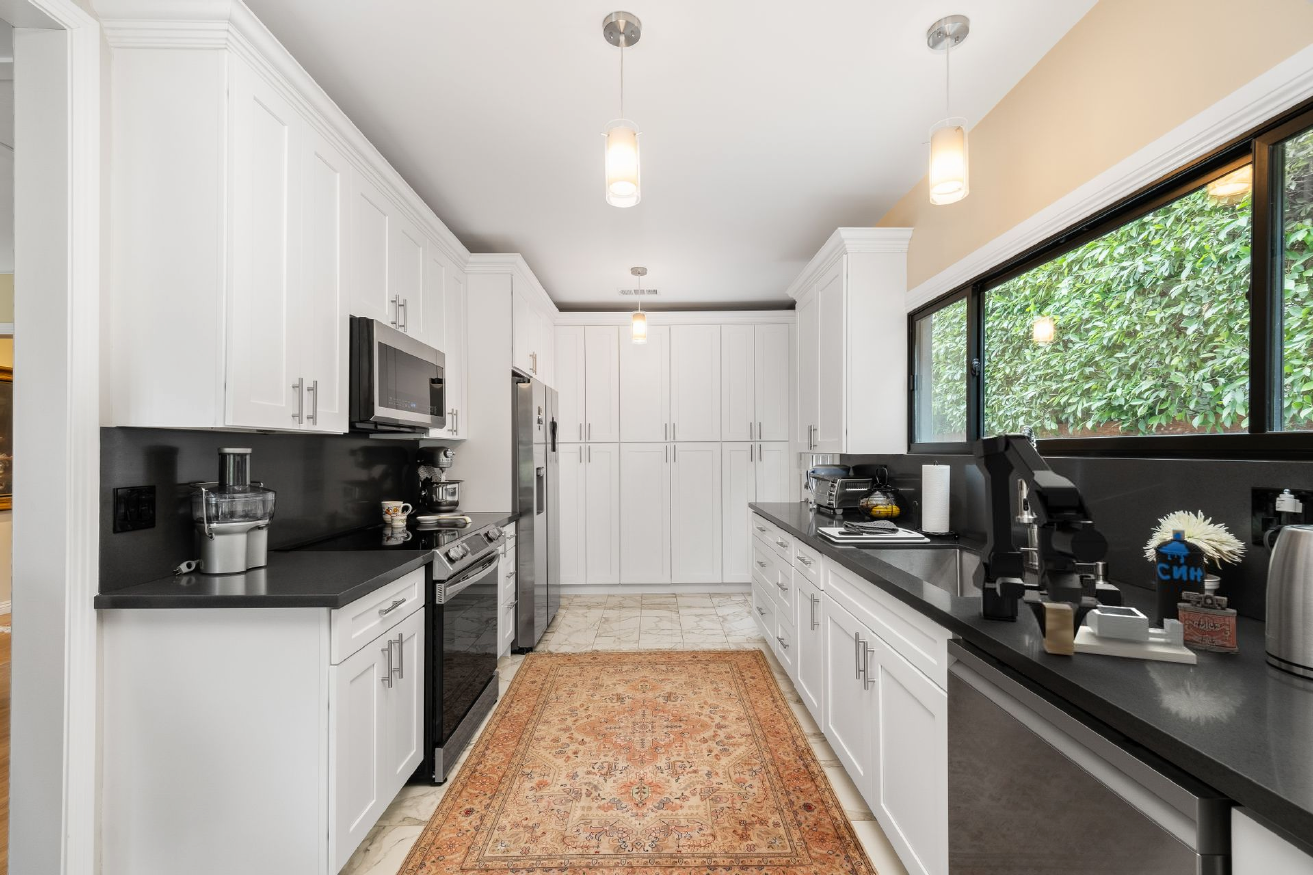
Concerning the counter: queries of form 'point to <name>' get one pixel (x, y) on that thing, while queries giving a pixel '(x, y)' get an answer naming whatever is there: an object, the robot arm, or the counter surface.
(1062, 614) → the oak rail post
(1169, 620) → the bracket
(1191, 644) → the lighter
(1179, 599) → the aerosol can
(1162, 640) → the bracket board
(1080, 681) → the counter surface
